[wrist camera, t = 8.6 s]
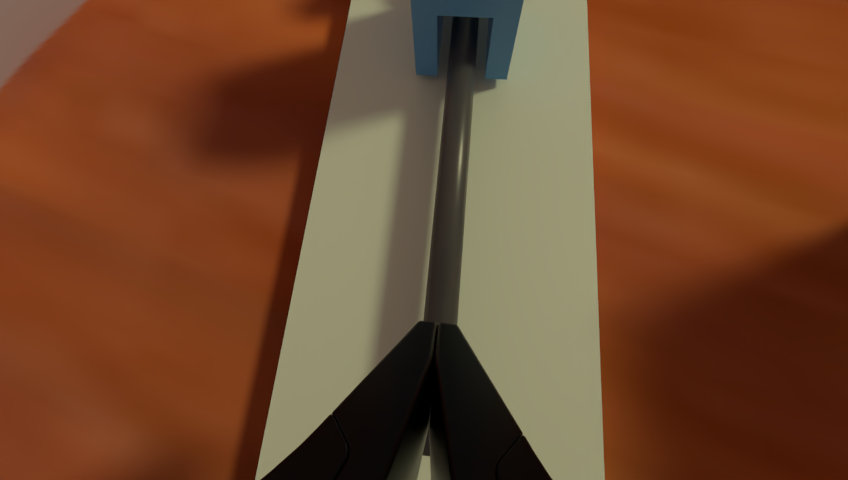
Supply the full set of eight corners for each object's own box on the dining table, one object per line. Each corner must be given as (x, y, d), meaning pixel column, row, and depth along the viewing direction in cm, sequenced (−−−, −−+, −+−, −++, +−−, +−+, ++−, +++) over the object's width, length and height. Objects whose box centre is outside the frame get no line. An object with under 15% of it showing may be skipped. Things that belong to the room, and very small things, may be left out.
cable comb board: (595, 557, 15) (696, 665, 9) (259, 515, 16) (152, 590, 10) (576, -64, 25) (619, -204, 19) (373, -71, 26) (353, -208, 20)
